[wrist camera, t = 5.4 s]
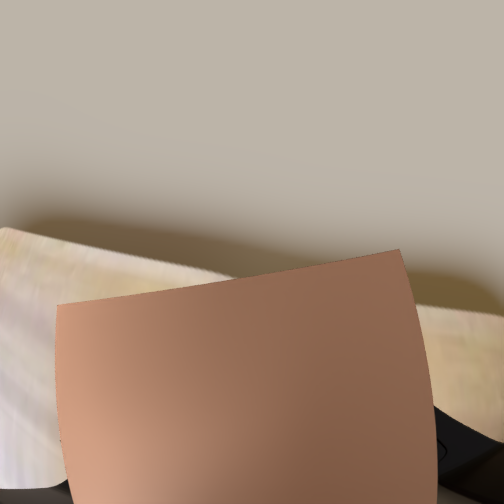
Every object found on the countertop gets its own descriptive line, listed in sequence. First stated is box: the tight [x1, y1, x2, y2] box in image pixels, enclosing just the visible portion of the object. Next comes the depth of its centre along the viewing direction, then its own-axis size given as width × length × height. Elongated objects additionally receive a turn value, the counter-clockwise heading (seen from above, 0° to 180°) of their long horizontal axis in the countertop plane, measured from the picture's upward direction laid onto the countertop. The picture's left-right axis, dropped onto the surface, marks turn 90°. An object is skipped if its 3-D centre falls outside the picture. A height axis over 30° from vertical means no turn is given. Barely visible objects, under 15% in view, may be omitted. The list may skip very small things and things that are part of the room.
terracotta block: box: [55, 249, 438, 504], centre depth 8 cm, size 5×5×13 cm
